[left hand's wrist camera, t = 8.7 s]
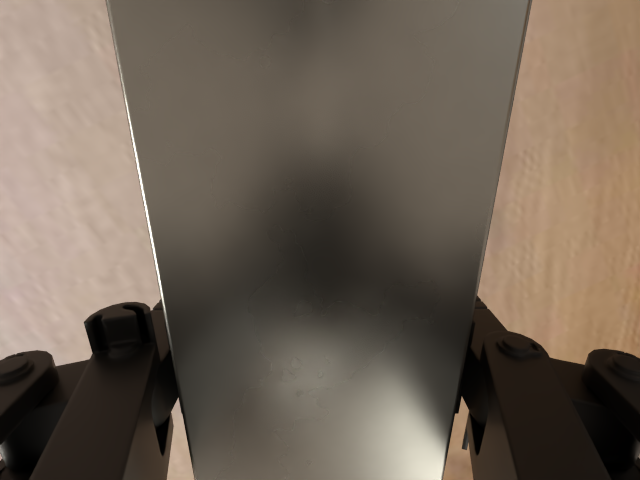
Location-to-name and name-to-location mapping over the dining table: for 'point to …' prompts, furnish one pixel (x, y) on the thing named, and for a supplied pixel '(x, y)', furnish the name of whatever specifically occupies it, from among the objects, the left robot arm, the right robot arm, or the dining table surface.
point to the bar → (318, 218)
